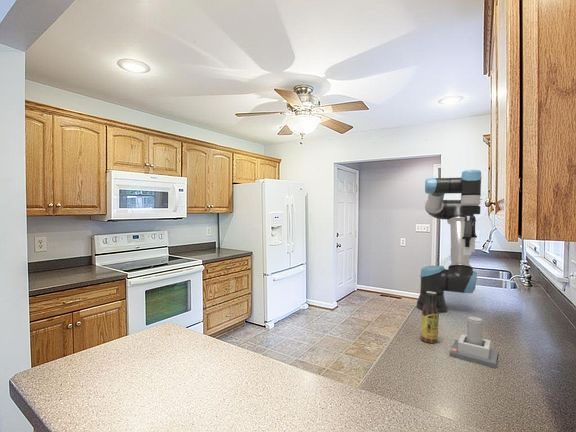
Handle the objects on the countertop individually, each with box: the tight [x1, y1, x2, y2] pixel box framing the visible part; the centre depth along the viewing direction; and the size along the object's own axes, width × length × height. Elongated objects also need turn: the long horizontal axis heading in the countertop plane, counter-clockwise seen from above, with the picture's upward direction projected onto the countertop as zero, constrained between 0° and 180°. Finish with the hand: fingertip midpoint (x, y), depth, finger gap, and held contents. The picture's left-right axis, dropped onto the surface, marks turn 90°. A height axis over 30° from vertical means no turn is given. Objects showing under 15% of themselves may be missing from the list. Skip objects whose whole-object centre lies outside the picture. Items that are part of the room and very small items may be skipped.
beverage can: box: [466, 315, 484, 346], centre depth 114 cm, size 5×5×12 cm
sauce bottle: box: [420, 291, 440, 344], centre depth 126 cm, size 7×6×20 cm
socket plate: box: [449, 334, 499, 369], centre depth 114 cm, size 14×14×5 cm
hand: (469, 253), depth 136 cm, fingers open, 13 cm apart
